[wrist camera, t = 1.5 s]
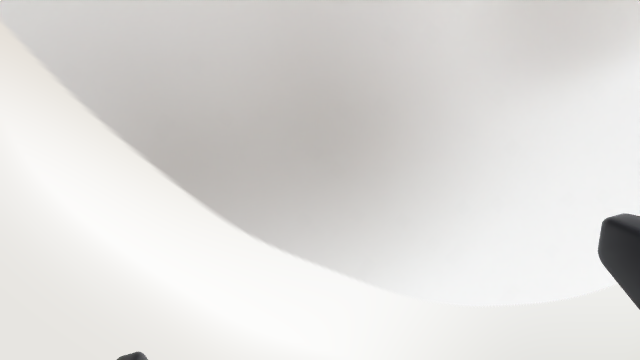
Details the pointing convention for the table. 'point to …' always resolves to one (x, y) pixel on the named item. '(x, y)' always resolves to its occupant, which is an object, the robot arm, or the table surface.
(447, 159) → the table surface
